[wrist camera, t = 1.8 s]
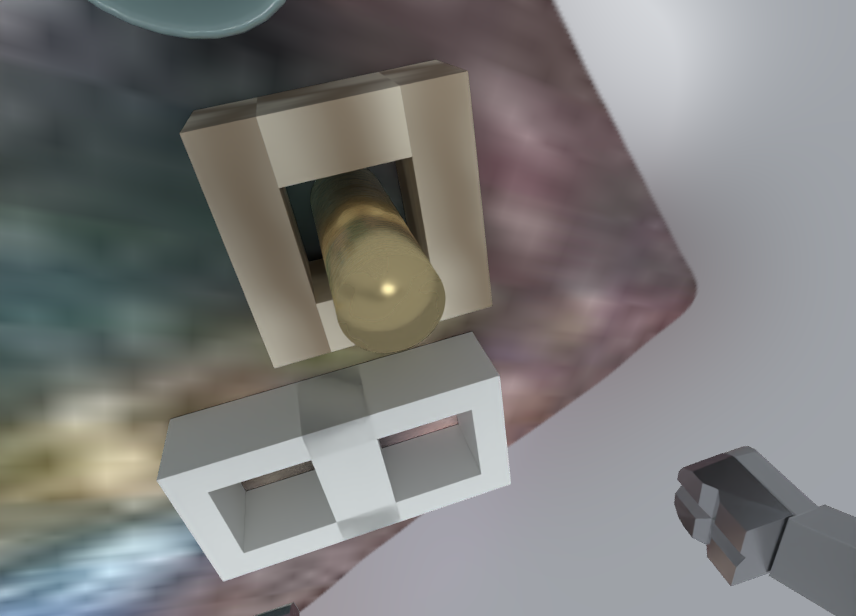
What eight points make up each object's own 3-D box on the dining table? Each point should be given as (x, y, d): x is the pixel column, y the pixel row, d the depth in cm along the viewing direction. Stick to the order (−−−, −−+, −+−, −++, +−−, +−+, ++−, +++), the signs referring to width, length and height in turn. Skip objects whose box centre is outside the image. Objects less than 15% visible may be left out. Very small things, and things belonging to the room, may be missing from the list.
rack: (227, 517, 38) (223, 581, 34) (170, 419, 33) (156, 480, 29) (485, 434, 41) (510, 484, 37) (471, 331, 36) (499, 375, 31)
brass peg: (321, 241, 30) (351, 365, 20) (301, 173, 27) (323, 272, 18) (389, 224, 30) (452, 336, 20) (375, 155, 28) (437, 242, 18)
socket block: (272, 319, 31) (274, 368, 27) (193, 110, 25) (179, 133, 21) (463, 267, 33) (492, 306, 29) (435, 59, 26) (468, 71, 22)
